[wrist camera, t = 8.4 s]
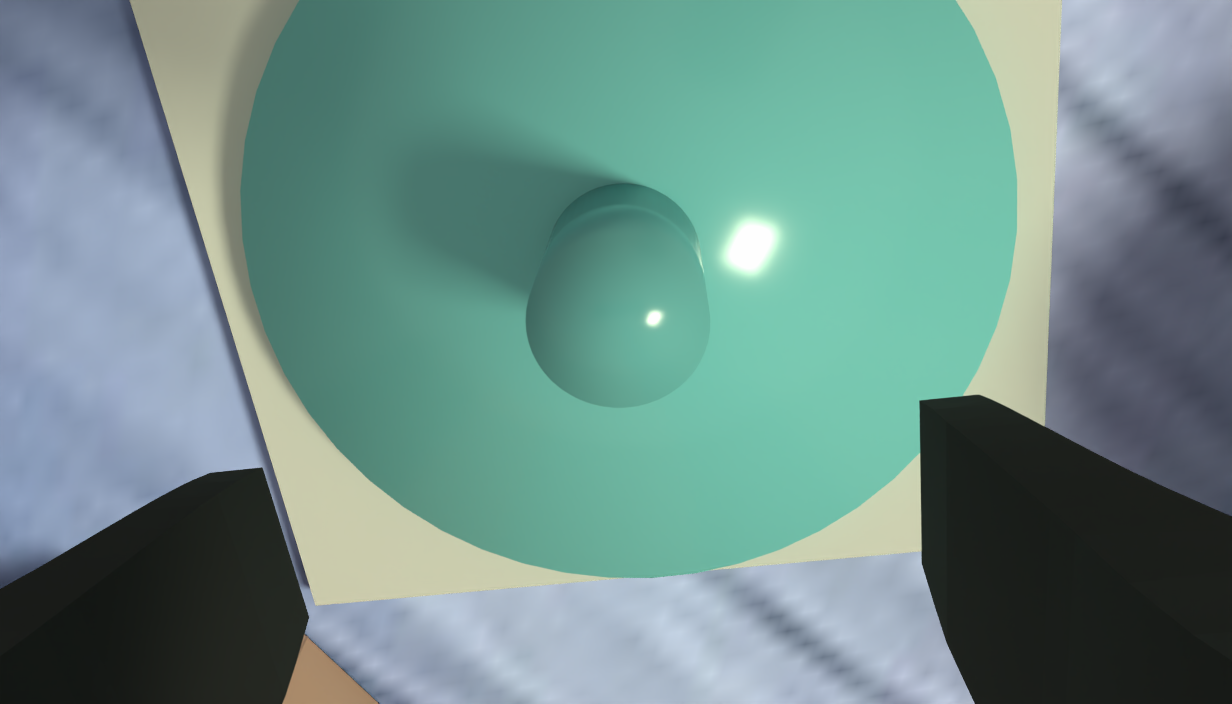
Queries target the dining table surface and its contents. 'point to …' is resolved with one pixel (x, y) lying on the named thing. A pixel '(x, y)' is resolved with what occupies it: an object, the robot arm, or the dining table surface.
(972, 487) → the robot arm
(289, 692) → the bowl
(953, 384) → the lid
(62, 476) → the dining table surface
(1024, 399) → the mat
